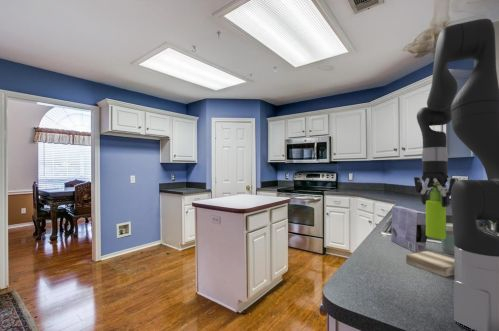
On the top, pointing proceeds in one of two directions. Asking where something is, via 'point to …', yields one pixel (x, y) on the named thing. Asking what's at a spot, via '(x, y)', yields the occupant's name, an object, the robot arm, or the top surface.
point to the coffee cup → (448, 240)
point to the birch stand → (432, 262)
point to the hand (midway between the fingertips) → (435, 205)
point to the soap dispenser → (435, 215)
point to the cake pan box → (409, 228)
